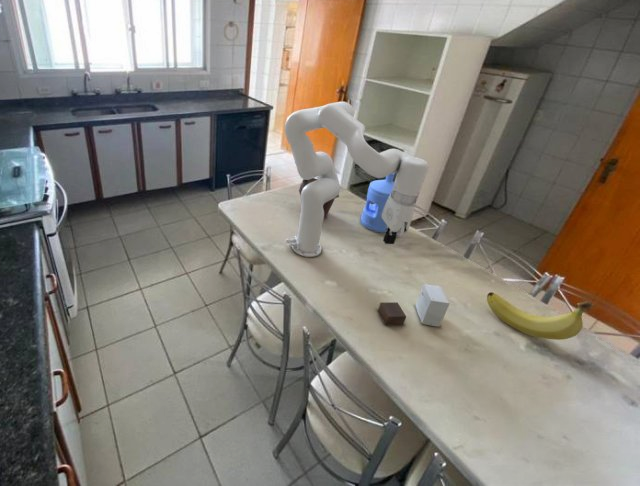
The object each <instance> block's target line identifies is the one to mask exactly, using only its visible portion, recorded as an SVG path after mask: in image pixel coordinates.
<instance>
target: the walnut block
mask: <svg viewBox="0 0 640 486" xmlns="http://www.w3.org/2000/svg"><path fill="white" fill-rule="evenodd" d="M377 312H378V314H379V316H380V318H381V320H382V321H383V323H384V326H404V324H405V322H406V319H407V315H406V313H405V312H404V310H403V309H402V307H401V305H400V304H399V302H397V301H396V302H395V301H393V302H386V301H385V302H379V306H378V309H377Z"/></svg>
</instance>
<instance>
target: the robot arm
mask: <svg viewBox="0 0 640 486" xmlns="http://www.w3.org/2000/svg"><path fill="white" fill-rule="evenodd" d="M319 129H326V130H327V131H329V132H330V133H331V134H332V135H334V137H336V138H337V139H339V141H341V142H342V143H343V144H344V145H345V146H346V148H347V151H348V153H349V155H350V157H351V159H352V161H353V162H354V163H355V164H356V165H357V166H358V167H359V168H361V169H362V170H363V171H364V172H365V173H367V174H368V175H369V176H372V177H373V178H377V179H384V178H386V176H388V175H390V174H393V173H395V174H396V177H395V181H394V182H395V183H394V187H393V190H392V193H391V194H390V196H389V198H388V199H387V202H386V204H385V207H384V209H383V212H382V219H383V220H384V222H385V223H386V224H387V226H386V231H387V232H386V233H384V237H383V239H382V241H383V242H384V244H385V245H394V244H395V242H396V239H397V237H398V238H404V234H405V233H407V232H408V231H409V229H410V226H411V223H412V220H413V216H414V212H415V208H416V207H415V206H416V204H417V201H418V199H419V195H420V193H421V190H422V187H423V185H424V182H425V179H426V175H427V173H428V171H429V162H427V160H425V159H423V158H420V157H416V156H412V155H411V154H408V153H406V152H405V151H402V150H401V149H398V148H389V149H386V150H383V151H381V152H378V151H377V150H376V149H374V148H373V147H372V146H370V145H369V143H368V142H367V141H366V139H365V137H364V134H365V132H366V126H365V124H363V123H362V122H360V121H359V120H358V119H357V118H355V110H354V107H353V106H352V105H351V104H350V103H349V102H346V101H337V102H331V103H327V104H325V105H321V106H315V107H309V108H304V109H299V110H296V111H294V112H292V113H291V114H289V116H287V118H286V120H285V123H284V135H285V138H286V140H287V142H288V144H289V145H288V146H289V147H290V149H291V153H292V158H293V160H294V163H295V167H296V170H297V173H298V176H299V177H300V178H301V179H302V180H303V179H305V180H308V179H312V178H315V179H318V180H316V181H314V182H311V183H309V184H307V185H306V186H305V187H304V188H303V189H302V192H301V195H300V214H299V220H298V221H299V222H298V229H297V235H295V236H294V237H292V238H285V244H288V246H289V247H291V248H292V251H294V252H295V254H297V255H300V256H302V257H306V258H314V257H318V256H319V255H321V253H322V249H323V248H322V246H321V243H320V239H321V235H322V229H323V226H324V225H323V224H324V220H325V219H324V209H323V205H324V203H326V202H327V201H329V200H331V199H333V198H335V197H336V196H338V194H339V195H340V193H341V192H340V191H341V184H340V180H339V177H338V174H337V171H336V166H335V164H334V161H333V159H332V157H331V156H330V155H329V154H328V152H325V151H316V150H315V148H314V144H313V141H312V140H311V138H310V137H309V136H308V135H307V134H306V133H307V132H311V131H315V130H319ZM335 199H336V198H335Z"/></svg>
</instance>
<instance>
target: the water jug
mask: <svg viewBox="0 0 640 486" xmlns="http://www.w3.org/2000/svg"><path fill="white" fill-rule="evenodd" d="M395 174H396V173H393V174H390V175H388V176H386V177H385V179H378V180H373V181H371V182H370V183H369V186H368V188H367V194H366V203H365V206H364V207H363V211H362V214H361V216H360V223H361V225H363V227H365V228H367V229H368V230H370V231H373V232H375V233H380V234H381V233H382V234H383V233H384V234H385V233H386V232H387V231H386V226H387V224H386V223H385V222H384V220H383V219H382V212H383V209H384V207H385V204H386V202H387V199H388V198H389V196H390V194H391V193H392V190H393V187H394V183H395V181H394V178H395ZM371 203H372V204H371Z"/></svg>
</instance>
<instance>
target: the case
mask: <svg viewBox="0 0 640 486" xmlns="http://www.w3.org/2000/svg"><path fill="white" fill-rule="evenodd" d="M316 180H318V179H317V178H316V177H315V178H312V179H308V180H305V179H302V180H301V182H300V186H299V188H298V192H299V196H301V192H302V189H303V188H304V187H305V186H306V185H307V184H309V183H311V182H314V181H316ZM337 198H340V193H339V194H338V196H336V197H335V198H333V199H331V200H329V201H327V202H326V203H324V205H323V209H324V219H323V220H325V219H326V218H327V216H328V214H329V212H330V211H331V208H332V206H333V203H334V201H335V199H337Z"/></svg>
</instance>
